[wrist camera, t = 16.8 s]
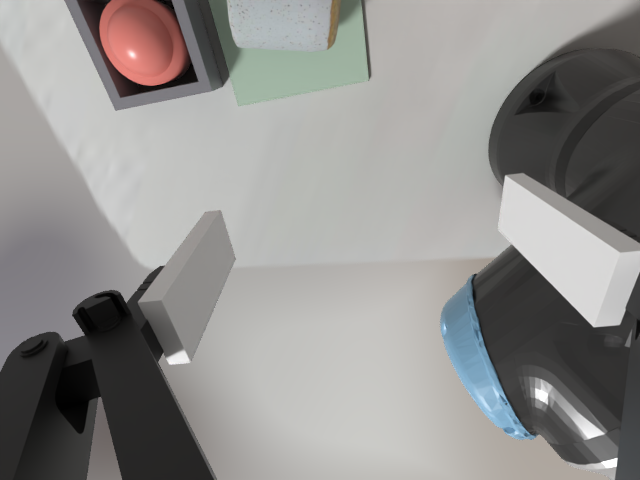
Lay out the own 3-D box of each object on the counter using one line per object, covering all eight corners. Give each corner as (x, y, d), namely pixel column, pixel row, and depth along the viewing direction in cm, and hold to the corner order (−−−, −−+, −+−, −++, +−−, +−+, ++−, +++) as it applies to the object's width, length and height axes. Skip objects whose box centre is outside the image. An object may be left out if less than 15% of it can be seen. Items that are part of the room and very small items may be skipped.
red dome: (176, -9, 28) (150, -19, 24) (203, 74, 31) (184, 79, 27) (105, 7, 29) (66, 0, 24) (139, 88, 32) (110, 95, 27)
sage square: (350, -102, 26) (351, -104, 26) (368, 80, 32) (368, 80, 32) (191, -64, 27) (189, -65, 27) (239, 105, 33) (238, 106, 33)
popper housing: (188, -30, 28) (170, -40, 25) (223, 86, 32) (212, 91, 29) (89, -6, 29) (58, -14, 25) (136, 104, 33) (115, 110, 30)
